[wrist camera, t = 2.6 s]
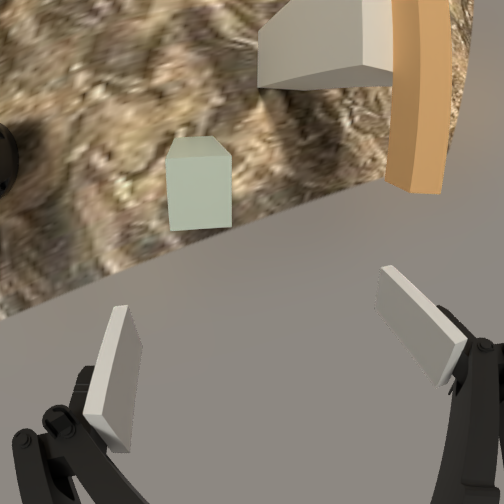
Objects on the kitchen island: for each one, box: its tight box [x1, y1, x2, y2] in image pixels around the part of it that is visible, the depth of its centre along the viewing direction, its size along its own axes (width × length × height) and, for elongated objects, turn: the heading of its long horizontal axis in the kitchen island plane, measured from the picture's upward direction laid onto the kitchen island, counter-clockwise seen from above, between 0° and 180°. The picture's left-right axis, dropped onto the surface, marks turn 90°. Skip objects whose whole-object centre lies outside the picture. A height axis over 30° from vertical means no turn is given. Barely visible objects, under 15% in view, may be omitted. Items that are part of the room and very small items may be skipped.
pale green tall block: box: [165, 136, 232, 231], centre depth 38 cm, size 6×7×22 cm
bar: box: [385, 0, 452, 194], centre depth 15 cm, size 3×21×3 cm, turn 179°
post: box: [257, 0, 393, 91], centre depth 29 cm, size 8×10×32 cm
